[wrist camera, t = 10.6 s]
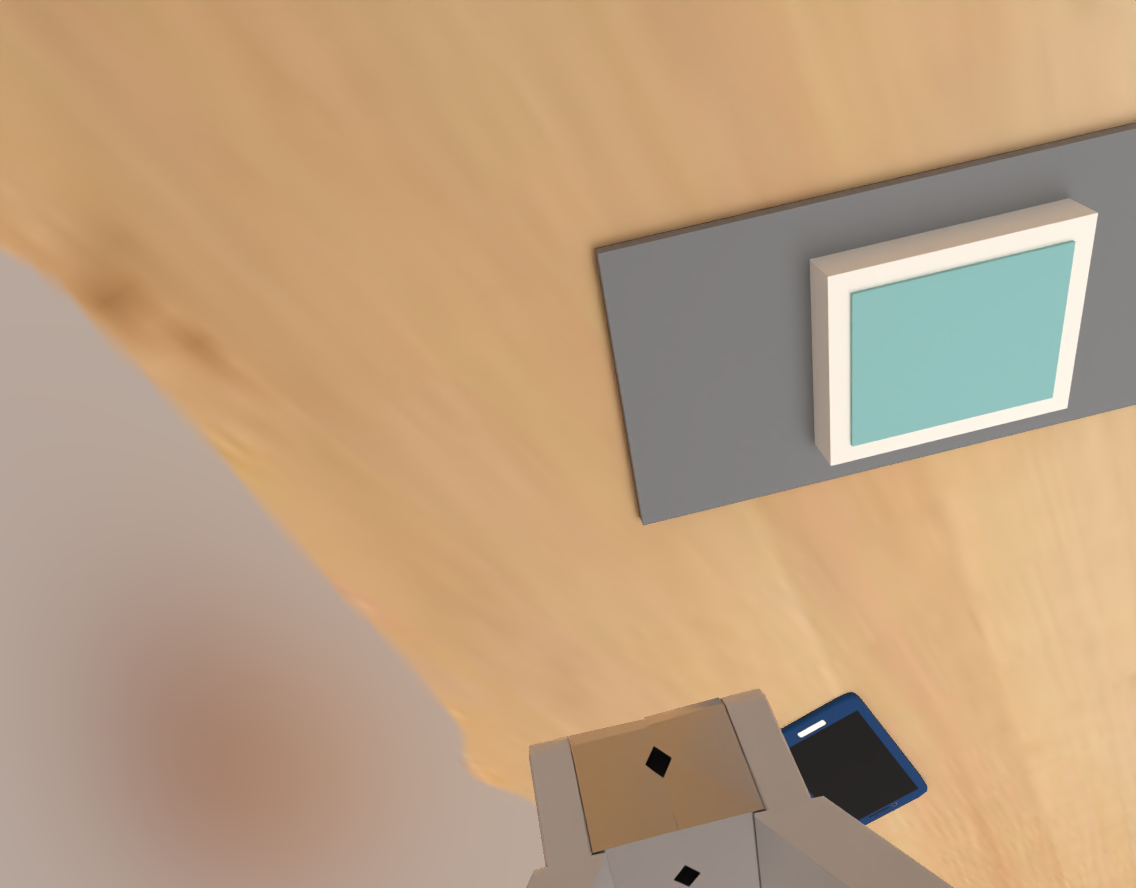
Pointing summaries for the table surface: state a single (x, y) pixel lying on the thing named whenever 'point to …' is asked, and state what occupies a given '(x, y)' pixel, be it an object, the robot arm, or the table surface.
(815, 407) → the white picture frame
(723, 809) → the robot arm
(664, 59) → the table surface
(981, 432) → the mat
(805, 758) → the cell phone
